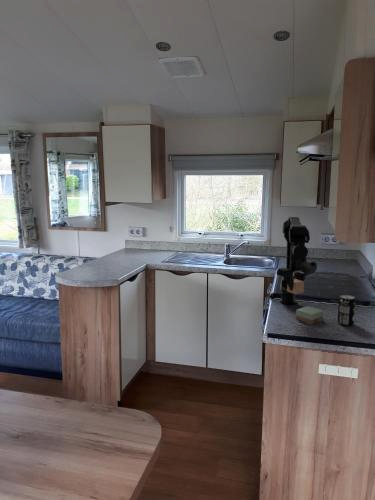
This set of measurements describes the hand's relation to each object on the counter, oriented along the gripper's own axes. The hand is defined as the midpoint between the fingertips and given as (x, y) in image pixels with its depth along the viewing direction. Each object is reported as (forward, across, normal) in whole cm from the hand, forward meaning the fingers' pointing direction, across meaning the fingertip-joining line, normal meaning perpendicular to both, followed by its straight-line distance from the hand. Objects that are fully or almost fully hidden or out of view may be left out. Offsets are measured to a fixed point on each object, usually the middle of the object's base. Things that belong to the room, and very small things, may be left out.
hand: (295, 289), depth 171 cm
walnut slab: (+14, +4, -5) cm, 15 cm away
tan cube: (+1, 0, 0) cm, 1 cm away
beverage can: (+13, +13, -17) cm, 25 cm away
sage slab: (+11, +4, -5) cm, 13 cm away
